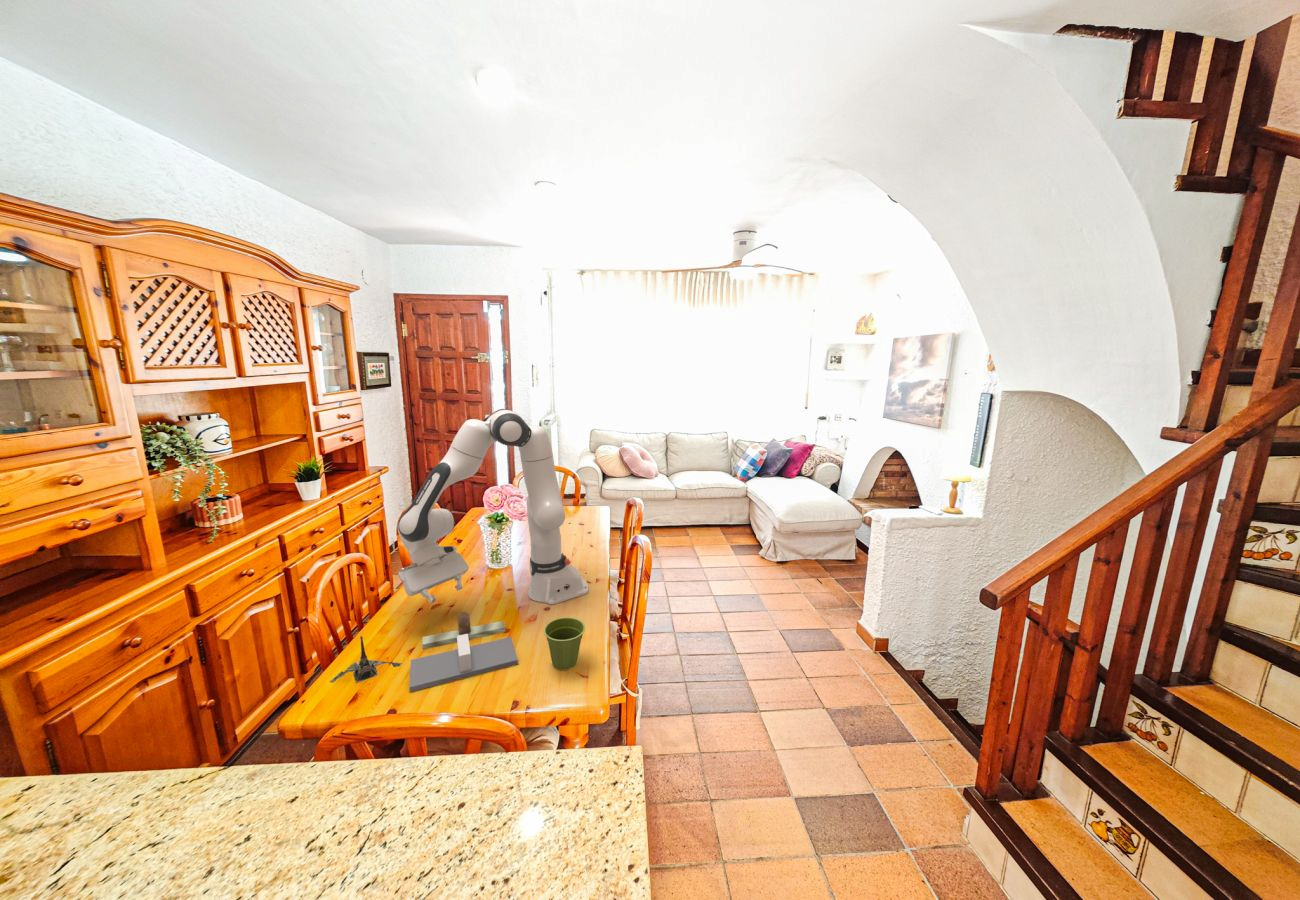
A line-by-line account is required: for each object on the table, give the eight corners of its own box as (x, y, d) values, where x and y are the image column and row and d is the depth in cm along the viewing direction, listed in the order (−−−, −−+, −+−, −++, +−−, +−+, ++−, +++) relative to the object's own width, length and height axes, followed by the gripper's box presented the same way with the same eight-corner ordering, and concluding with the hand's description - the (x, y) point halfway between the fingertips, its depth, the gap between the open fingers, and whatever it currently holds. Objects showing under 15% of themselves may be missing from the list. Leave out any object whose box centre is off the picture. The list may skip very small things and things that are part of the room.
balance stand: (511, 640, 144) (510, 622, 143) (518, 664, 134) (517, 644, 132) (411, 664, 132) (409, 644, 131) (409, 692, 122) (407, 670, 120)
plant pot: (588, 672, 131) (588, 637, 129) (545, 679, 128) (545, 643, 125) (582, 646, 142) (582, 614, 140) (543, 653, 139) (542, 619, 137)
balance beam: (503, 626, 152) (502, 604, 151) (505, 632, 149) (504, 610, 147) (423, 642, 143) (421, 619, 141) (422, 650, 139) (420, 626, 138)
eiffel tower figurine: (404, 664, 133) (400, 623, 130) (380, 690, 123) (376, 645, 120) (355, 660, 134) (350, 619, 132) (328, 684, 125) (322, 641, 122)
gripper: (399, 565, 141) (418, 605, 138) (459, 544, 158) (478, 579, 155) (393, 574, 145) (412, 613, 142) (452, 553, 161) (470, 587, 158)
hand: (447, 595), depth 148 cm, fingers open, 8 cm apart
